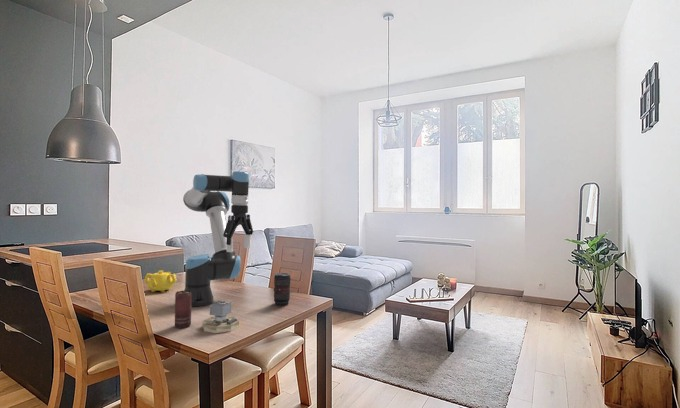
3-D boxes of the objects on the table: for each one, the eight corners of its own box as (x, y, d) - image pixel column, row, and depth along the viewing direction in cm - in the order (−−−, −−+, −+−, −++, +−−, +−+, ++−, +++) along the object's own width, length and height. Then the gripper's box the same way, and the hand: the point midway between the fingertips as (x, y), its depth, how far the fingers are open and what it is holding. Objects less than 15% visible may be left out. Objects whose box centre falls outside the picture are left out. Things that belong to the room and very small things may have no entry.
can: (177, 323, 150) (177, 289, 150) (192, 323, 150) (193, 289, 150) (171, 328, 144) (172, 293, 143) (188, 328, 144) (188, 293, 144)
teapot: (167, 295, 191) (167, 274, 191) (134, 294, 192) (134, 273, 191) (184, 286, 211) (184, 267, 211) (154, 286, 212) (154, 267, 211)
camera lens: (286, 307, 176) (287, 276, 176) (271, 305, 178) (271, 275, 178) (292, 302, 184) (292, 273, 184) (277, 301, 186) (277, 272, 186)
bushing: (209, 327, 145) (209, 304, 145) (218, 322, 151) (219, 301, 151) (222, 329, 143) (222, 306, 143) (231, 324, 149) (231, 302, 149)
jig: (195, 330, 143) (196, 322, 143) (216, 319, 156) (216, 312, 156) (225, 334, 139) (225, 326, 139) (244, 323, 152) (244, 315, 152)
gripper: (230, 205, 155) (228, 254, 156) (261, 204, 179) (259, 247, 179) (215, 204, 158) (214, 253, 158) (248, 203, 181) (246, 246, 182)
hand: (238, 250), depth 169 cm, fingers open, 13 cm apart
